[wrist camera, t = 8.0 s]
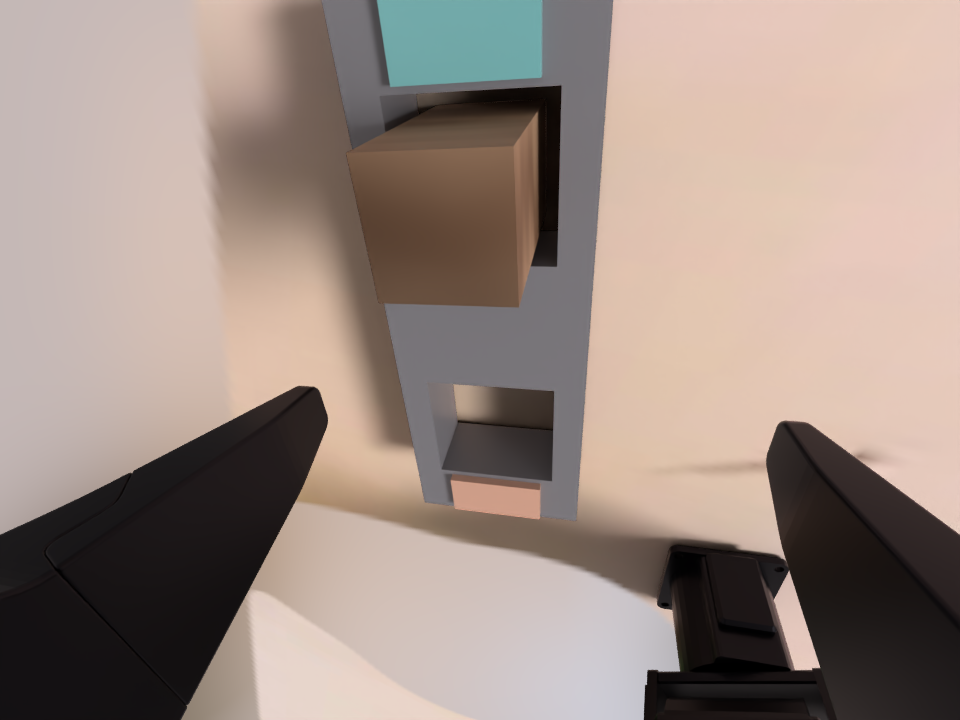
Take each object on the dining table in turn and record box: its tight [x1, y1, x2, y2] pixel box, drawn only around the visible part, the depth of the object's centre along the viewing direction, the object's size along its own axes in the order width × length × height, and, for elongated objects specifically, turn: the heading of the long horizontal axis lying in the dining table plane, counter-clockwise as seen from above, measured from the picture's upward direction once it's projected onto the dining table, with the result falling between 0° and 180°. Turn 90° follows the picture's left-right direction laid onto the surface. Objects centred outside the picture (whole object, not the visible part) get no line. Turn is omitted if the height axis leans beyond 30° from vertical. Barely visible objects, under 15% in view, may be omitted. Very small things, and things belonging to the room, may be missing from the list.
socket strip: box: [322, 0, 613, 521], centre depth 20 cm, size 22×8×4 cm, turn 4°
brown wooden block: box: [346, 99, 546, 308], centre depth 15 cm, size 4×4×8 cm
